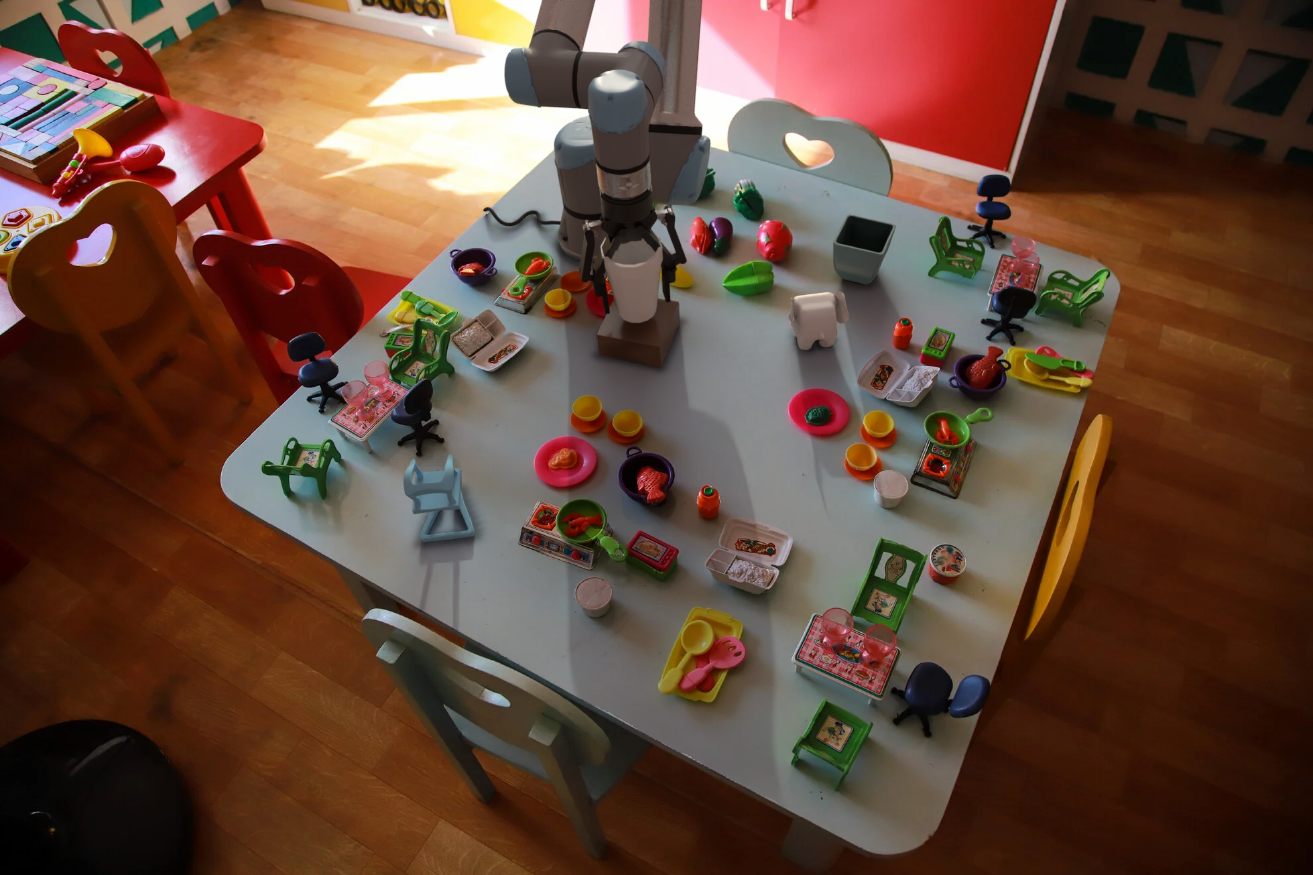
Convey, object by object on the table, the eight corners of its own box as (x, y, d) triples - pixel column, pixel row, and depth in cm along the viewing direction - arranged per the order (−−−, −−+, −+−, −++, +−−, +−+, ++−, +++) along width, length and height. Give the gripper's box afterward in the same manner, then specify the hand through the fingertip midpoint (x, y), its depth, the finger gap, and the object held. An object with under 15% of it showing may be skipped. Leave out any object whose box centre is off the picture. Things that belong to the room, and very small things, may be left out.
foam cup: (668, 291, 138) (665, 228, 127) (663, 330, 132) (659, 268, 122) (612, 289, 139) (604, 227, 128) (605, 328, 133) (596, 266, 123)
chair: (476, 489, 123) (456, 441, 114) (474, 536, 118) (454, 490, 109) (425, 495, 123) (401, 447, 114) (421, 543, 118) (396, 497, 109)
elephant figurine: (830, 306, 143) (836, 267, 136) (848, 355, 136) (856, 317, 129) (776, 312, 143) (780, 273, 136) (791, 363, 136) (796, 324, 129)
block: (599, 355, 139) (596, 334, 135) (620, 311, 145) (617, 290, 141) (661, 367, 137) (659, 347, 133) (679, 322, 143) (679, 301, 139)
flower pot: (841, 252, 152) (847, 212, 144) (888, 264, 149) (897, 224, 142) (826, 282, 147) (832, 243, 140) (874, 295, 144) (883, 255, 137)
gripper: (552, 215, 113) (573, 331, 131) (707, 187, 115) (707, 305, 133) (545, 183, 118) (566, 299, 135) (694, 157, 120) (696, 275, 137)
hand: (636, 302), depth 134 cm, fingers closed on foam cup, 9 cm apart
